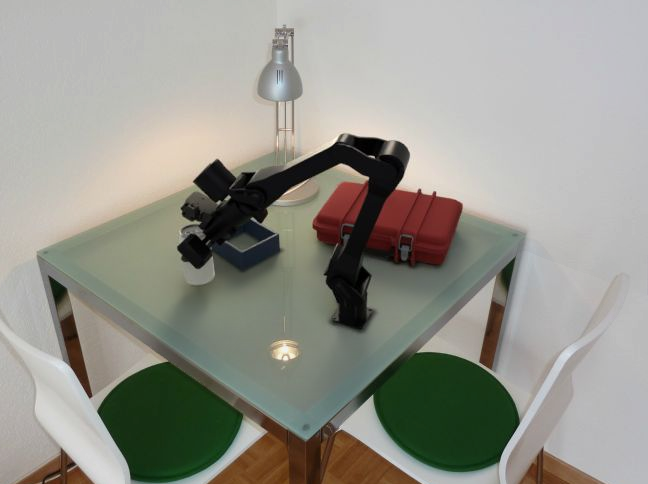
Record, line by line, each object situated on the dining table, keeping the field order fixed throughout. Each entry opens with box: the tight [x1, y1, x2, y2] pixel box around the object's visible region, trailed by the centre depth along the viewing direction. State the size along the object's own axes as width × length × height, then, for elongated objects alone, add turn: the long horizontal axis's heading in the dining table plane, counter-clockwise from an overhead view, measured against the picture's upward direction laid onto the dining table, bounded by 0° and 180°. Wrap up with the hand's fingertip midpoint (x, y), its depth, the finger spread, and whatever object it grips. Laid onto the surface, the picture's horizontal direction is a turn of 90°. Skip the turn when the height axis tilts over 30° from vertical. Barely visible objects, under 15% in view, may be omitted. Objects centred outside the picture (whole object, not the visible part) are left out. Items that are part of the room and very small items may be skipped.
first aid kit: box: [312, 179, 464, 267], centre depth 152 cm, size 32×23×9 cm
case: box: [211, 217, 281, 271], centre depth 149 cm, size 13×11×5 cm
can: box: [178, 223, 216, 287], centre depth 134 cm, size 6×6×12 cm
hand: (190, 251), depth 134 cm, fingers closed on can, 6 cm apart
